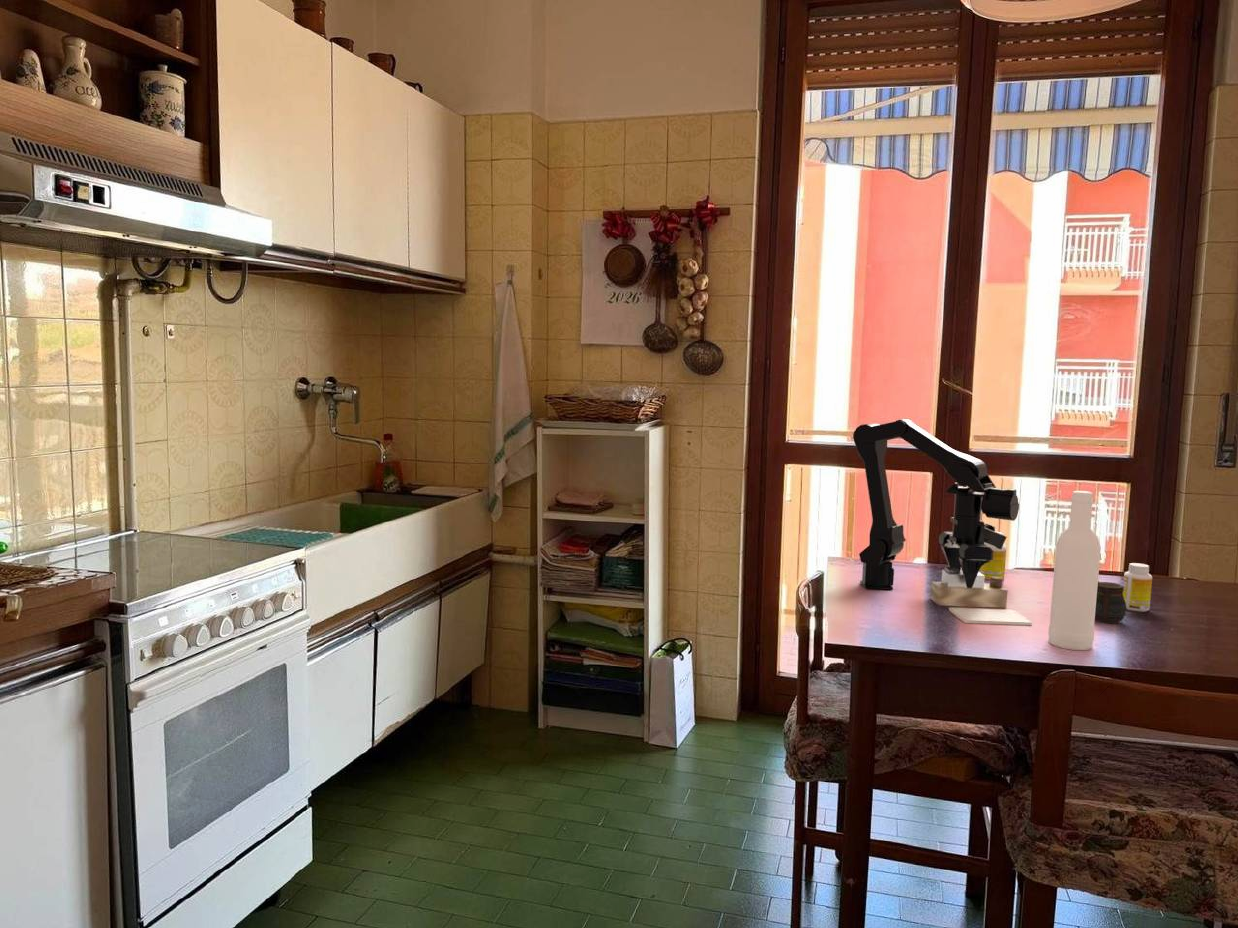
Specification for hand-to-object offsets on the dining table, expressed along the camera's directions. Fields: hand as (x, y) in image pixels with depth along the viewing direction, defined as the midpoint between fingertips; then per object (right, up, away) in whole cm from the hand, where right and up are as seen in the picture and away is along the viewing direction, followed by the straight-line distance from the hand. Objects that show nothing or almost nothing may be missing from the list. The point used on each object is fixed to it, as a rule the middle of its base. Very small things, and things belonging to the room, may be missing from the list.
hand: (962, 582), depth 209 cm
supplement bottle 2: (+39, -6, -1) cm, 39 cm away
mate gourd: (+27, -7, -11) cm, 30 cm away
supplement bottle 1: (+15, -3, +21) cm, 26 cm away
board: (+2, -6, -12) cm, 13 cm away
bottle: (+10, -8, -30) cm, 32 cm away
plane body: (+1, -5, 0) cm, 5 cm away
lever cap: (0, -1, 0) cm, 1 cm away
